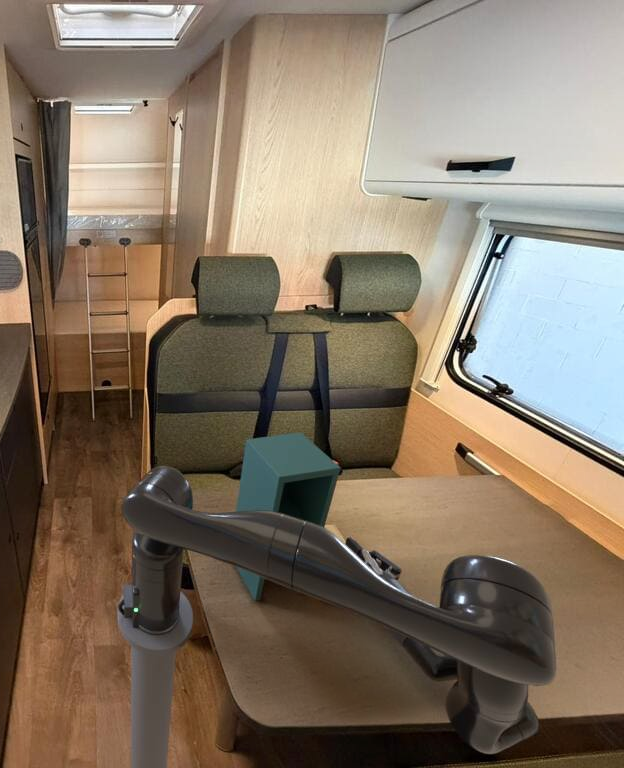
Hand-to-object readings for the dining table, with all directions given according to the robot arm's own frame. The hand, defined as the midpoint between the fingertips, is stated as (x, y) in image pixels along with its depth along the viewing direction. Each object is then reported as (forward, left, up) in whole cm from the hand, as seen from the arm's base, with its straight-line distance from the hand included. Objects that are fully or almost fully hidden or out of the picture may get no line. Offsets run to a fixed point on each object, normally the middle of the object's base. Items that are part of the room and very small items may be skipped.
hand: (337, 542), depth 91 cm
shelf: (-15, -1, -7) cm, 17 cm away
